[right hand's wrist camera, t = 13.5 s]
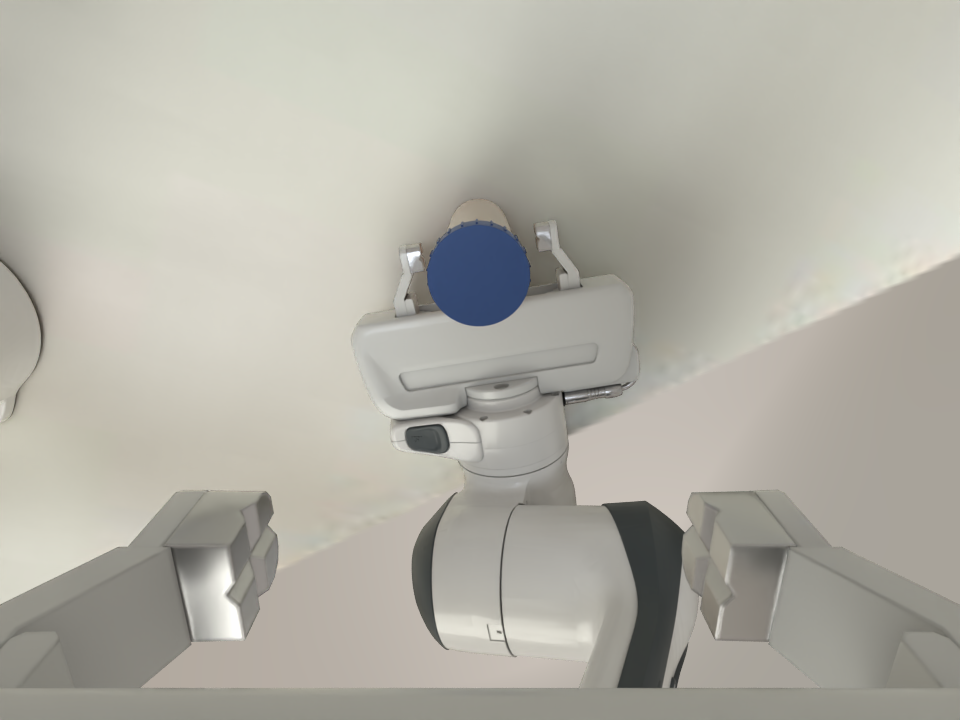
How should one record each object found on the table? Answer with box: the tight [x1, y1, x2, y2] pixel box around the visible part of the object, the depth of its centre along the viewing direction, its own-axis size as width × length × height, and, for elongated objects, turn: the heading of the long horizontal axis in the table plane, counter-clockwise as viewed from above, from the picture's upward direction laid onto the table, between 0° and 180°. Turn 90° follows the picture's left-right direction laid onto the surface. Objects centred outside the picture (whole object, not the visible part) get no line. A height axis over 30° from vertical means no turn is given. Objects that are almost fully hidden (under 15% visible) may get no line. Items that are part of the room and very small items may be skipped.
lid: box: [426, 219, 531, 326], centre depth 31 cm, size 5×5×2 cm
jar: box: [446, 199, 512, 233], centre depth 38 cm, size 5×5×17 cm
